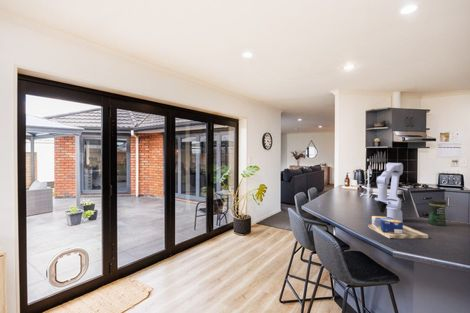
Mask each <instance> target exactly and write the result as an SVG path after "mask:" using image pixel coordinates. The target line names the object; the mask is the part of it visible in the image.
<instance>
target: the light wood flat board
mask: <svg viewBox="0 0 470 313" xmlns="http://www.w3.org/2000/svg"><path fill="white" fill-rule="evenodd" d="M367 227H369V228H368V229H370V230H372V231H374V232H376V233H378V234H380V235H382V236H383V237H386V238H388V239H390V238H394V239H429V234H427V233H425V232H422V231H420V230H417V229H414V228H412V227H410V226H407V225H406V224H405V225H404V224H403V234H398V233H385V232H382V231H381V230H380V229H378V228H377V227H376V226H375V225H372V224H367Z"/></svg>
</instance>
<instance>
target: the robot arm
mask: <svg viewBox="0 0 470 313" xmlns="http://www.w3.org/2000/svg"><path fill="white" fill-rule="evenodd" d="M385 168H386V170H384V171H383V172H382V173H381V174H380V175H378V176H376V182H375V183H376V186H377V197H374V201H377V202H376V205H377V206H378V209H379V213H383V214H385V210H386V217H390V218H393V219H395V220H398V221H400V222H403V223H404V221H403V211H402V210H401V208H402V199H401V198H400V197H398V191H399V183H400V182H399V181H400V176H401V175H403V171H404V164H403V163H402V162H387V163H386V164H385ZM390 178H391V182H390ZM389 183H390V190H389V195H388V185H389Z"/></svg>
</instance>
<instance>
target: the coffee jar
mask: <svg viewBox="0 0 470 313" xmlns="http://www.w3.org/2000/svg"><path fill="white" fill-rule="evenodd" d="M428 205H429V211H428V220H427V222H428V224H430V225H433V226H442V227H443V226H446V225H447V222H446V207H447V200H446V199H444V198H443V199H442V198H429V200H428Z"/></svg>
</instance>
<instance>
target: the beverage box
mask: <svg viewBox="0 0 470 313" xmlns="http://www.w3.org/2000/svg"><path fill="white" fill-rule="evenodd" d="M371 225H375V226H376V227H377V228H378V229H380V230H381V231H382V232H385V233H398V234H403V225H404V221H403V222H400V221H398V220H395V219H393V218H390V217H387V216H381V215H380V216H377V215H372V216H371Z"/></svg>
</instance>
